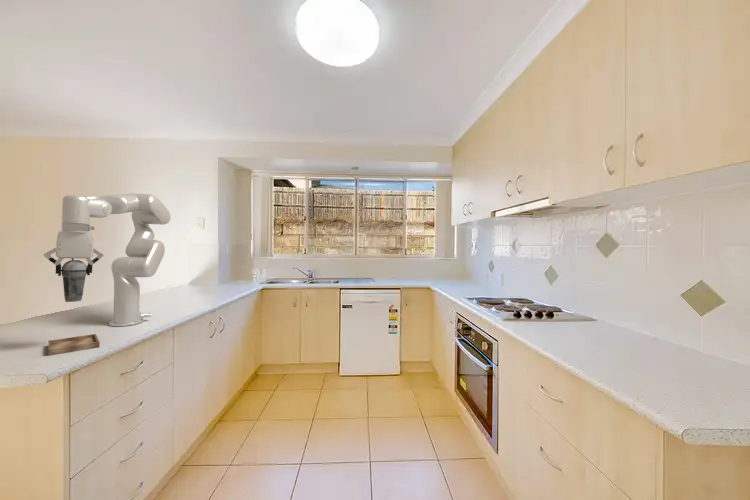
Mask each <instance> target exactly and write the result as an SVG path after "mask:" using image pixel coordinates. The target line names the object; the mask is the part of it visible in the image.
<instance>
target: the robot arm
mask: <svg viewBox="0 0 750 500" xmlns="http://www.w3.org/2000/svg"><path fill="white" fill-rule="evenodd" d="M61 204H62V207H61V209H62V210H61V231H58V233H57V237H56V242H55V248H52V249H50V250H49V251H47V252H45V253H43V257H44V258H46V259H47V260H48V261H49V262H51V263H53V265H55V274H56V275H57V276H58V277H62V271H61V270H62V264H61V263H62V261H63V260H64V259H72V258H73V259H85V260H86V261H87V265H86V266H87V274H86V276H90V275H91V274H93V265H94V264H96V263H97V262H98V261H99V260H100V259H102V258H103V257H104V254H103V253H101V252H100V251H99V250H96V248H94V238H93V234H92V232H90V231H95V226H92V225H90V223H91V222H90V218H98V219H99V218H100V219H102V218H107V217H109V216H110V215H121V214H126V213H131V220H132V223H133V227H134V232H133V234H132V237H131V238H130V240H128V241H129V242H128V244H127V245H126V247H125V253H124V254H125V255H126V256H122V257H121V256H120V257H117V258H116V259H114V260H113V261H112V263H111V265H110V266H111V274H112V278H113V320H111V321H109V322H108V325H109V326H111V327H127V326H134V325H139V324H141V323H143V322H144V318H152V313H151V312H148V313H147V312H143V313H141V312H140V296H141V295H140V292H141V291H140V290H141V287H140V283H139V280H138V279H137V278H150V277H151V278H152V277H153V276H154V275H156V272H157V270H158V269H159V266H160V264H161V262H162V260H163V258H164V256H165V249H166V248H165V245H164V243H163V242H162V241H160V240H157V239H155V233H154V231H153V229H152V228H151V227H150V225H160V226H161V225H167V224H169V223H170V221H171V213H170V211H169V210H168V208H167V207H166V205H164V203H163V202H162V201H161V200H160V199H159V198H158V197H157V196H155V195H154V194H152V193H134V192H133V193H122V194H113V195H112V194H108V195H93V196H82V195H75V194H73V195H72V194H70V195H68V194H67V195H64V196H63V197H62V203H61ZM54 253H55V257H57V259H55V258H54V257H53V256H51V255H52V254H54ZM94 254H95V255H96V257H95V258H93V259H91V258H92V257H93V255H94Z"/></svg>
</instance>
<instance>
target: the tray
mask: <svg viewBox="0 0 750 500" xmlns="http://www.w3.org/2000/svg"><path fill="white" fill-rule="evenodd" d="M47 347H48V349H47V350H48V355H47V356H54V355H60V354H67V353H72V352H79V351H86V350H90V349H91V350H92V349H95V348H96V349H97V348H100V340H99V338H98V336H97V333H94V334H85V335H77V336H72V337H65V338H64V337H63V338H58V339H57V338H56V339H51V340H48V346H47Z"/></svg>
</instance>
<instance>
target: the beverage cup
mask: <svg viewBox="0 0 750 500" xmlns="http://www.w3.org/2000/svg"><path fill="white" fill-rule="evenodd" d="M86 276H87V265H86V263H84V262H83V261H81V260H80V259H79V260H78V259H75V258H71V259H70V260H68V261H66V262H65V263H64V264H63V265H61V277H62V285H63V296H64V302H65V303H73V302H74V303H75V302H76V303H77V302H82V299H83V295H84V287H85V281H86V280H85V279H86Z"/></svg>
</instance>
